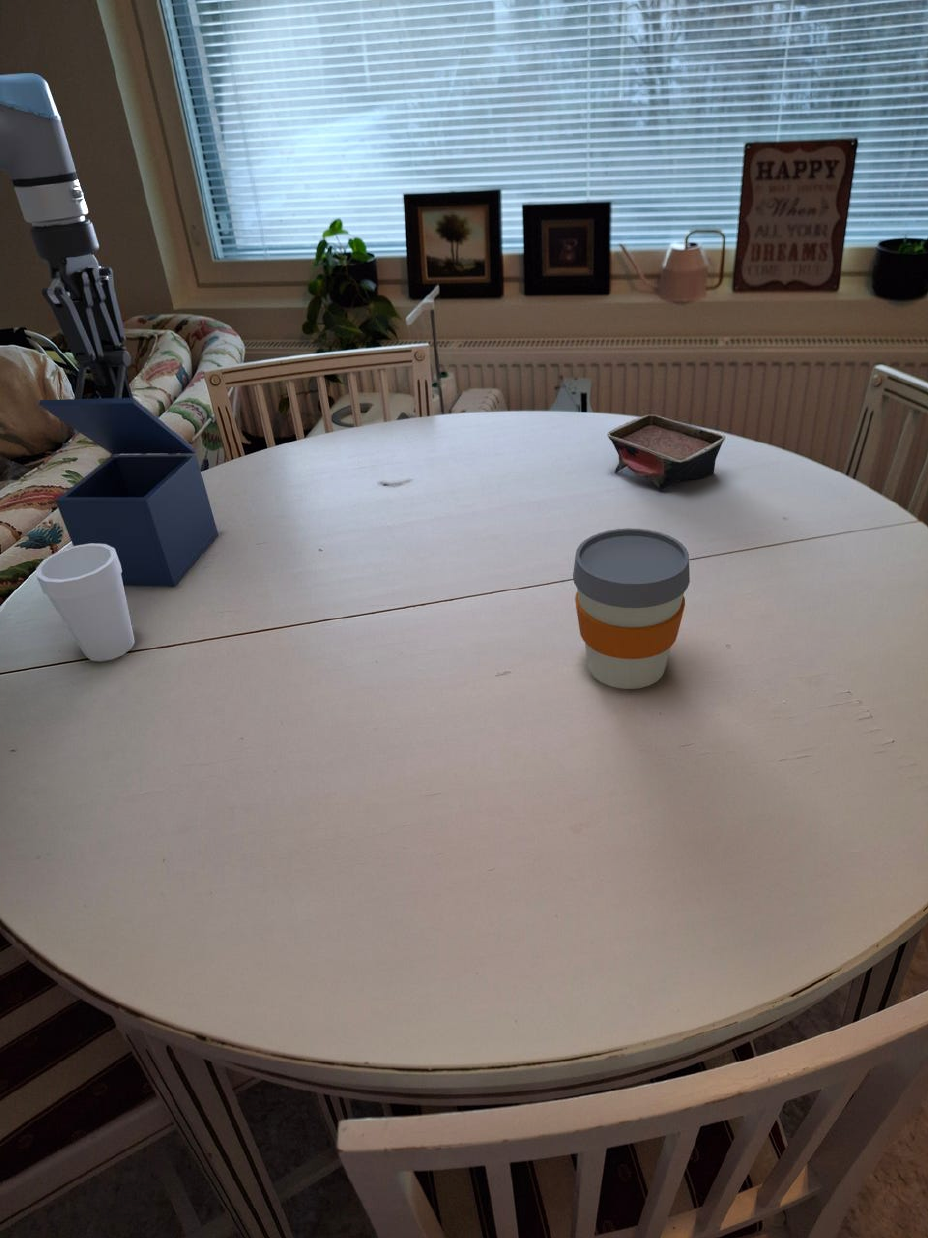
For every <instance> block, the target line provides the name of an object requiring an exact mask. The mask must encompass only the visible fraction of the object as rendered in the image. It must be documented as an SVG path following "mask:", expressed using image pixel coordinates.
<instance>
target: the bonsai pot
mask: <svg viewBox="0 0 928 1238" xmlns="http://www.w3.org/2000/svg"><path fill="white" fill-rule="evenodd" d="M606 435H607V438H608V440H610V442H611V443H612V445H613V447H614V448H615V451H616V453H617V455H618V464H617V465H616V467H615V470H614V474H617V473H619V472H620V471H622V470H624V469H625V468H628V469H629V470H631V471H633V472H634V473H635V474H637V475H640V476H642V477H643V478H646V479H647V480H649V481H651V482H652V483H653V484H654V485H655V486H656V487H657V488H658V489H659V490H661V491H664V490H666V489H667V488H669V487H671V486H672V485H673V484H675V483H677V482H678V481H681V482H682V481H691V480H698V479H699V480H700V479H705V478H707V477H710V476H712V475H715V468H716V467H715V466H716V460H717V457H718V454H719V453H720V450H721V448H722V445H723V443H724V442H725V440H726V436H725V435H724V434H723V435H722V434H720V433H718V432H714V431H710V430H707V429H703V428H701V427H697V426H694V425H691V424H688V423H685V422H681V421H677V420H674V419H671V418H667V417H663V416H660V415H659V414H650V413H649V414H646V415H642V416H639V417H637V418H634V419H632V420H629V421H627V422H625V423H623V424H620V425H619V426H616V427H615V428H613V429H611V430H610V431H608V432H607V434H606Z"/></svg>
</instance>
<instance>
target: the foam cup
mask: <svg viewBox="0 0 928 1238" xmlns="http://www.w3.org/2000/svg"><path fill="white" fill-rule="evenodd" d="M121 572H122V569H121V565H120V562H119V559H118V556H117V554H116V551H115V548H113V547H111V546H109V545H107V544H95V543H90V544H84V545H78V546H73V545H72V546H70V547H67V548H65V549H62V550H59V551H57V552H55V553H53V554H51V555H50V556H48V557H46V558H45V559H43V560H42V561H41V562H40V564H38V565H37V567H36V568H35V577H36V579H37V581H38V583H39V587H40V588H41V590H42V592H43V594H45V595H46V596H47V597H48V599H49V601H50V603H51V604H52V605H53V607H54V609H55V610H56V612H57V613H58V615H59V616H60V618H61V620H62V622H63V623H64V624H65V626H66V628H67V630H68V631H69V632H70V634H71V635H72V637H73V640H75V642H76V643H77V645H78V647H79V648H80V650H81V651H82V653H83V654H84V655H85V657H86V658H87V659H89V660H90V661H93V662H105V661H111V660H114V659H117V658H119V657H121V656H123V655H125V654H127V653H128V652H129V651H130V650H131V649H133V646H134V645H135V643H136V641H135V635H134V630H133V626H132V621H131V616H130V612H129V611H130V610H129V605H128V601H127V596H126V593H125V587H124V586H125V585H123V582H122V577H121Z"/></svg>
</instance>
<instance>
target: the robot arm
mask: <svg viewBox="0 0 928 1238" xmlns="http://www.w3.org/2000/svg"><path fill="white" fill-rule="evenodd" d="M3 172H8V174H9V176H10V179H11V182H12V186H13V188H14V192H15V194H16V198H17V201H18V204H19V207H20V210H21V212H22V215H23V219H24V221H25V222H27V223H29V224H31V225H32V226H30V228H29V231H28V232H29V234H30V237H31V240H32V243H33V245H34V248H35V252H36V255H37V256H38V258H40V259H42V260H45V261H46V262H47V263H48V265H49V266H48V267H49V276H50V279H51V280H52V281H51V283H50V285H49V287H43V288H41V295H42V296H43V298H44V300H46V302H47V303H48V304H49V306H50V308H51V309H52V312H53V314H54V316H55V318H56V322H57V324H58V326H59V328H60V330H61V332H62V334H63V337H64V339H65V341H66V344H67V345H68V348H69V350H70V352H71V354H72V357H73V359H74V360H75V361H76V362H77V361H80V362H87V363H88V365H89V368H88V369H89V371H90V374H91V377H92V380H93V383H94V385H95V386H96V389H97V391H98V395H99V397H100V399H105V398H114V395H115V388H116V381H117V375H118V368H119V367H111V364H110V361H109V359H104V355H103V352H114V351H127V350H126V349H127V347H126V344H125V343H126V341H127V338H126V334H125V330H124V325H123V321H122V316H121V312H120V308H119V304H118V300H117V295H116V291H115V285H114V271H113V269H112V267H108V266H107V267H106V266H105V267H103V266H101V265H99V261H98V260H97V258H96V256H95V255H94V253H97V252H99V249H100V244H99V241H98V238H97V235H96V232H95V228H94V225H93V222H92V221H90V219H88V218H86V217H85V216H87V215H88V213H89V210H88V206H87V203H86V201H85V197H84V192H83V190H82V188H81V184H80V182H79V177H78V173H77V170H76V168H75V163H74V160H73V157H72V153H71V149H70V147H69V142H68V140H67V137H66V133H65V130H64V125H63V122H62V119H61V116H60V114H59V112H58V109H57V106H56V102H55V100H54V98H53V95H52V91H51V89H50V85H49V84H48V82H47V80H46V79H44V78H43V76H41V75H39V74H36V73H32V72H29V73H27V72H26V73H8V74H0V173H3ZM121 398H134V396H133V392H132V390H131V386H130V383H129V380H128V377H127V374H126V372H125V377H124V384H123V390H122V397H121Z"/></svg>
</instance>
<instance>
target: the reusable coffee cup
mask: <svg viewBox="0 0 928 1238" xmlns="http://www.w3.org/2000/svg"><path fill="white" fill-rule="evenodd" d="M574 557H575V558H574V565H573V571H572V572H573V573H572V581H573V583H574V585H575V587H576V589H577V591H576V593H575V596H574V603H575V608H576V616H577V621H578V628H579V634H580V635H579V636H580V637H581V640H582V641H583V642H584V645H585V654H586V659H587V666H588V670H589V672H590V674H591V675H592V676H593V677H594V679H596V680H597V681H598V682H600V683H602V684H603V685H606V686H608V687H611V688H615V689H619V690H620V689H622V690H636V689H642V688H646V687H649V686H651V685H653V684H656V683H657V682H658V681H660V680H661V678H662V677H663V675H664V674H665V671H666V667H667V663H668V660H669V659H668V658H669V655H670V651H671V647H672V646H673V645H674V643H675V642H676V641H677V637H678V634H679V630H680V627H681V622H682V619H683V614H684V610H685V608H686V607H685V606H686V597H685V595H684V594H685V592H686V591H687V589H688V588H689V585H690V582H691V579H690V576H691V575H690V554H689V551H688V549H687V547H686V546H685V545H684V544H683V543H682V542H680V541H679V540H678V539H676V538H675V537H672V536H670V535H668V534H665V533H662V532H661V531H656V530H651V529H643V528H617V529H610V530H606V531H601V532H598V533H596V534H593V535H591V536H589V537H587V538H586V539H584V540H583V541H582V542H580V544H579V545H578V547H577V548H576V551H575V556H574Z"/></svg>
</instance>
